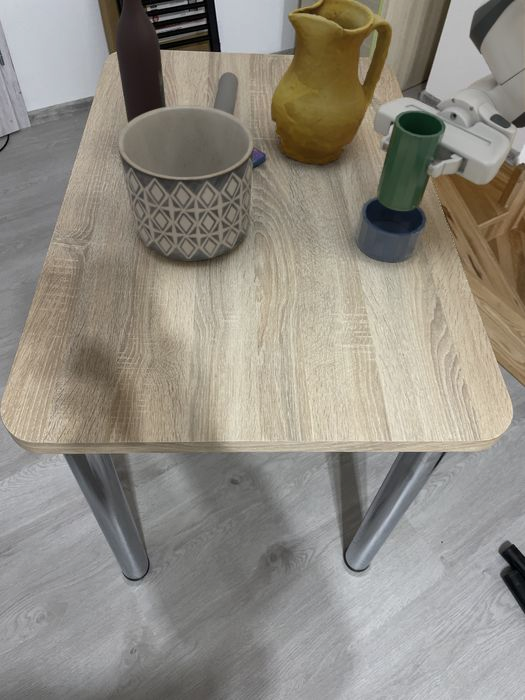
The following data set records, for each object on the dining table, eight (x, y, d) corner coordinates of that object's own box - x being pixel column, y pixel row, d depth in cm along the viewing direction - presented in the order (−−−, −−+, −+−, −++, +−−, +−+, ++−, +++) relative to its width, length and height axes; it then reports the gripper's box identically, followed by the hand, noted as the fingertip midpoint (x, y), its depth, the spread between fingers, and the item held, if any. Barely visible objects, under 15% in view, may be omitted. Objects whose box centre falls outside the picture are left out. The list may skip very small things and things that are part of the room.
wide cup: (420, 230, 92) (430, 203, 88) (412, 269, 86) (421, 242, 82) (362, 216, 94) (368, 189, 89) (349, 253, 88) (355, 226, 83)
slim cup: (423, 189, 84) (448, 116, 74) (417, 215, 80) (442, 141, 70) (380, 179, 85) (399, 106, 75) (372, 205, 81) (391, 130, 71)
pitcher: (279, 114, 113) (295, -21, 93) (365, 135, 111) (402, 2, 91) (256, 161, 103) (269, 20, 83) (351, 185, 101) (388, 47, 81)
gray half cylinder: (238, 80, 122) (238, 72, 121) (231, 126, 110) (231, 117, 109) (219, 79, 122) (219, 71, 121) (210, 124, 110) (210, 116, 109)
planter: (199, 182, 98) (194, 92, 85) (274, 233, 90) (281, 143, 77) (110, 227, 89) (90, 134, 76) (185, 289, 81) (177, 197, 68)
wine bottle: (174, 161, 102) (156, -24, 78) (136, 166, 100) (107, -21, 76) (165, 141, 106) (146, -41, 82) (129, 146, 104) (99, -38, 80)
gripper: (410, 78, 84) (354, 108, 78) (528, 132, 76) (476, 170, 70) (400, 117, 89) (347, 147, 83) (510, 171, 81) (460, 210, 75)
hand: (407, 158), depth 76 cm, fingers closed on slim cup, 7 cm apart
